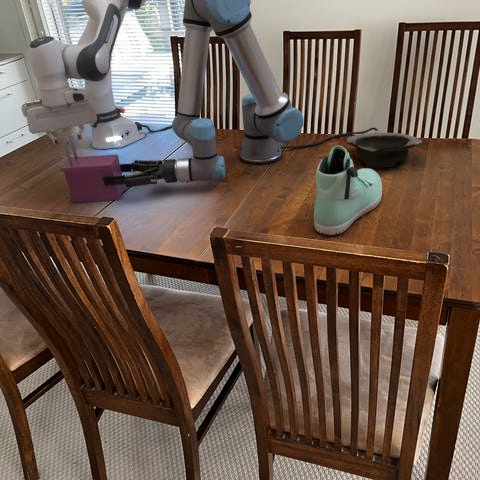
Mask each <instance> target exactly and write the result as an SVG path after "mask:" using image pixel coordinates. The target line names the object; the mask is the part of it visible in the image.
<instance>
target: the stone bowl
mask: <svg viewBox="0 0 480 480" xmlns="http://www.w3.org/2000/svg"><path fill="white" fill-rule="evenodd" d="M420 144H423V141H422V139H419V138H418V137H416V136H413V135H411V134H405V133H398V132H371V133H370V132H367V133H363V134H354V135H350V136H349V137H347V139H346V145H349V146H351V147H354V149H355V153H356V155H357V156H358V158H359V159H360V160H361V161H363V162H365V167H366V168H368V169H372V168H373V169H383V168H392V167H394V166H396V165H397V163H405V162H406V161H407V160H408V156H409V149H412V148H414V147H417V146H419V145H420Z"/></svg>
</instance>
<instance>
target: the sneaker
mask: <svg viewBox="0 0 480 480" xmlns="http://www.w3.org/2000/svg"><path fill="white" fill-rule="evenodd" d="M317 165H318V166H317V168H316V172H315V201H314V207H313V225H314V229H315V231H316V232H318V233H320V234H323V235H326V236H327V235H328V236H336V235H339V234H342V233H344V232H345V231H347V230H348V229H349V228H350V227H351V226H352V225H353V224H354V222H356V221H357V220H358V219H359V218H360V217H362V216H363V215H365V214H367V213H370V212H372V210H374V209H375V208H377V207H378V205H380V203H381V200H382V196H383V184H382V183H383V182H382V179H381V176H380V175H379V173H378V172H377V171H376V170H374V169H372V168H369V167H365V168H358V169H357V168H355V167H354V161H353V159H352V158H351V156H350V153H349V152H348V150H347V148H345V147H344V146H342V145H334V146H333V147H331V149H330V151H329V154H327V155H326V156H325V157H324V158H322V159H321V160H320V161H319V163H318V164H317ZM343 230H344V231H343ZM319 231H320V232H319ZM322 232H323V233H322ZM339 232H340V233H339ZM326 233H327V234H326ZM328 233H329V234H328ZM335 233H337V234H335Z"/></svg>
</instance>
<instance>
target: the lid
mask: <svg viewBox="0 0 480 480" xmlns="http://www.w3.org/2000/svg"><path fill="white" fill-rule="evenodd" d="M74 141H75V136H73V135H69V136H68V137H66V139H65V140H64V141H63V142H62V144H61V146H62V147H63V148H64V150H65V153H66V158H67V160H66V161H65V162H63V164H62V166H61V167H60V168H59V169H60V172H61V173H62V172H63V173H64V172H65V171H80V170H96V169H112V167H113V166H114V164H115V163H116V161H117V159H118V158H119V154H118V153H117V154H116V153H115V154H102V155H87V156H78V154H77V149H76V147H75V146H76V145H75V143H74ZM70 145H71V149H72V154H73V157H71V154H70V150H69V146H70Z"/></svg>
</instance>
